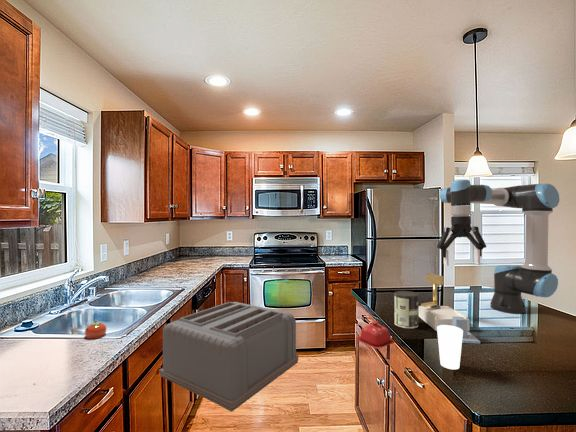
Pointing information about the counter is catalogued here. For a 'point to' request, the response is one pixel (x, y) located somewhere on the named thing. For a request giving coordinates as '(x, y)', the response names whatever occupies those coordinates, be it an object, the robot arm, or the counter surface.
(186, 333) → the toaster
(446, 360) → the cup
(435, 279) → the l shaped latch
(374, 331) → the butter dish
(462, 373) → the counter surface
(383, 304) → the counter surface
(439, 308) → the housing
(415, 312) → the coffee can
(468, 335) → the cover
